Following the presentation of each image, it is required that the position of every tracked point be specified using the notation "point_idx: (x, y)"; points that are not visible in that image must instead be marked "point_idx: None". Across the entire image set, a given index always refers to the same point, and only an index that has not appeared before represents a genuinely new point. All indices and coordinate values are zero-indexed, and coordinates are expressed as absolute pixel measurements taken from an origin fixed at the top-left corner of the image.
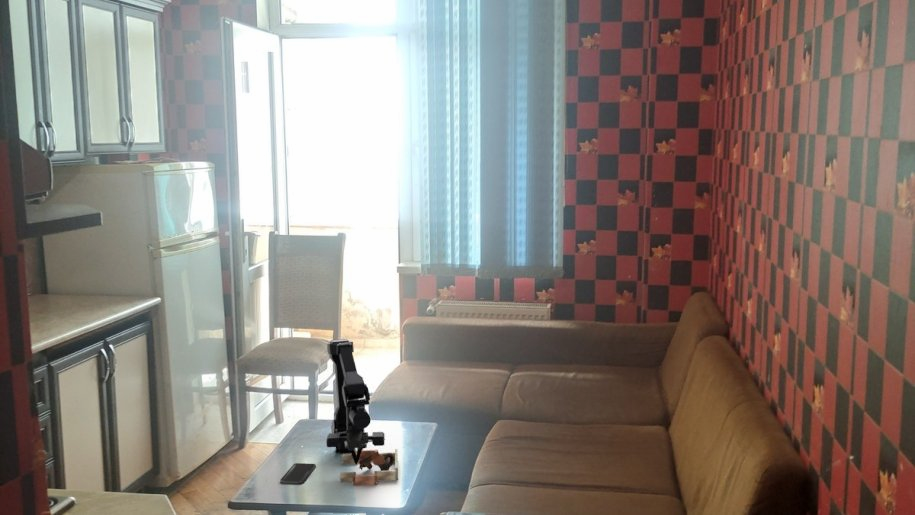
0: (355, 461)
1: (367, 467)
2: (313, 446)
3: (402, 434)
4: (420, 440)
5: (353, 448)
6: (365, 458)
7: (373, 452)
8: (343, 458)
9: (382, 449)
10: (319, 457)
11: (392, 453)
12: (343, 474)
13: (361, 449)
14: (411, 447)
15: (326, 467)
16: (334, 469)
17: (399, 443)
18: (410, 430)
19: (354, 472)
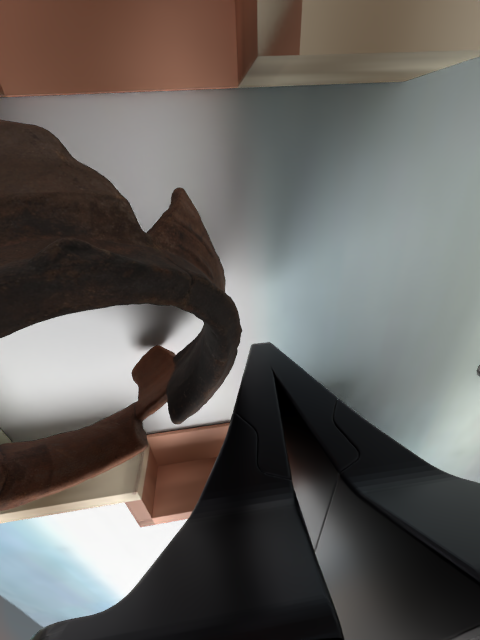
0: (275, 359)
1: (168, 353)
2: None
3: (116, 590)
4: (19, 584)
5: (452, 555)
6: (68, 282)
7: (166, 502)
8: None
9: None
10: (424, 448)
11: (7, 510)
12: (449, 1)
13: (200, 540)
14: (23, 552)
15: (427, 365)
16: (391, 343)
17: (98, 560)
18: (99, 605)
19: (277, 26)
